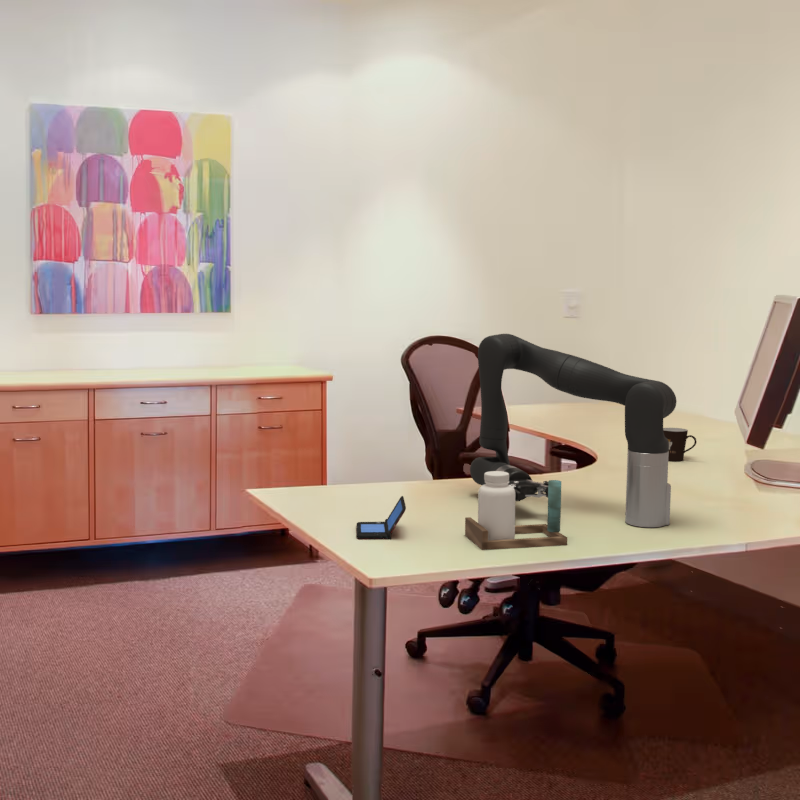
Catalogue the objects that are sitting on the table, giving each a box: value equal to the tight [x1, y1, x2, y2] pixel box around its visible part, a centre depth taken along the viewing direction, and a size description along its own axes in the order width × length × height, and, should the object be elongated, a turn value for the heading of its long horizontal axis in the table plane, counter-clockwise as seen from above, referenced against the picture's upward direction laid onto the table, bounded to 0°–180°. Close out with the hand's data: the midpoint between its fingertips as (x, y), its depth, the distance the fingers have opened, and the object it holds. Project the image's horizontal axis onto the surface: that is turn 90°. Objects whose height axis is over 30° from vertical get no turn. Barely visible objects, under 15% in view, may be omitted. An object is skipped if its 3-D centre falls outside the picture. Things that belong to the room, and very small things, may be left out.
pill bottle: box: [477, 471, 516, 540], centre depth 203 cm, size 8×8×15 cm
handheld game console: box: [356, 495, 407, 541], centre depth 210 cm, size 12×11×7 cm
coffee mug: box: [663, 427, 697, 463], centre depth 304 cm, size 12×9×10 cm
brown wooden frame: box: [464, 479, 568, 551], centre depth 204 cm, size 20×12×13 cm, turn 103°
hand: (536, 496), depth 216 cm, fingers open, 8 cm apart
